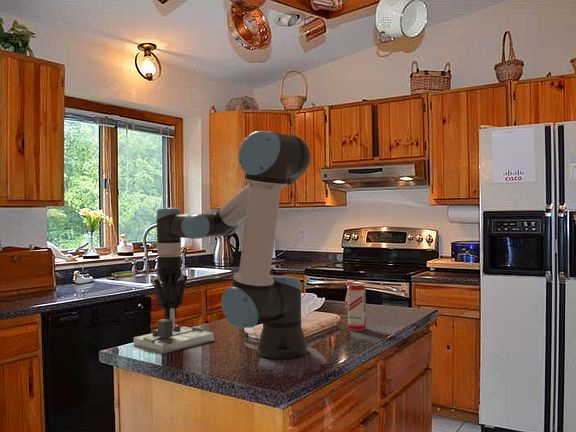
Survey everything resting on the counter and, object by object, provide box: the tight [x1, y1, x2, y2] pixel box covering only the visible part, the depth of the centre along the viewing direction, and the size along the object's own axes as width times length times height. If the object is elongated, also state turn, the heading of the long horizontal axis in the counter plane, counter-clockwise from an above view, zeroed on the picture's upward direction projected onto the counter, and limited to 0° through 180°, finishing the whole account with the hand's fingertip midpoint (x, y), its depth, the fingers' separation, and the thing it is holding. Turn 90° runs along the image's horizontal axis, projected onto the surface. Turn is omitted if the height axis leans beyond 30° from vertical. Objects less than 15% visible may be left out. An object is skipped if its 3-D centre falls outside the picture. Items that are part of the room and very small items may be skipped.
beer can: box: [347, 282, 367, 332], centre depth 185 cm, size 6×6×16 cm
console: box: [133, 324, 215, 355], centre depth 171 cm, size 16×20×4 cm
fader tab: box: [156, 318, 173, 338], centre depth 168 cm, size 4×3×5 cm
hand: (170, 328), depth 170 cm, fingers closed
